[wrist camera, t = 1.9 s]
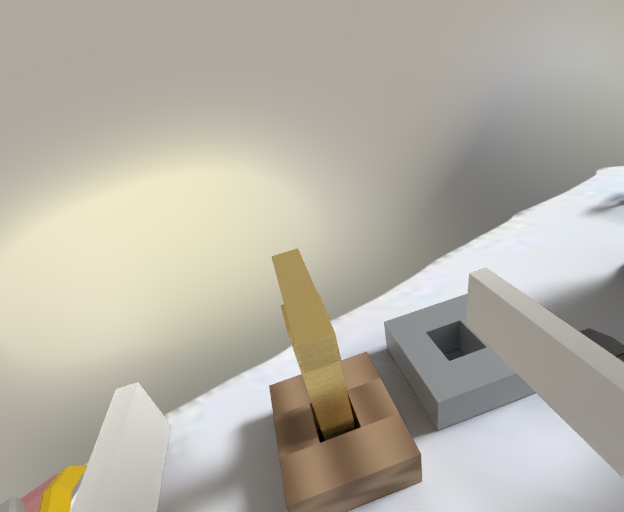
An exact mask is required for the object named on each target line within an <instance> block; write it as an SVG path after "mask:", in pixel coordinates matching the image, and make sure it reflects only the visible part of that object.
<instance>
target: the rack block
mask: <svg viewBox="0 0 624 512" xmlns="http://www.w3.org/2000/svg"><path fill="white" fill-rule="evenodd" d="M467 297H468V294H465V295H462V296H459V297H456V298H453V299H450V300H447V301H445V302H442V303H439V304H436V305H433V306H430V307H427V308H424V309H421V310H418V311H415V312H412V313H409V314H406V315H403V316H401V317H398V318H395V319H392V320H389V321H386V322H384V326H385V335H386V344H387V349H388V351H389V352H390V354H391V356H392V357H393V359H394V360H395V362H396V364H397V365H398V367H399V369H400V370H401V372H402V373H403V375H404V377H405V378H406V380H407V382H408V383H409V385H410V386H411V388H412V390H413V391H414V393H415V395H416V396H417V398H418V399H419V401H420V403H421V404H422V406H423V408H424V409H425V411H426V412H427V414H428V416H429V417H430V419H431V421H432V422H433V424H434V425H435V427H436V429H437V430H438V431H439V430H441V429H444V428H446V427H449V426H452V425H454V424H457V423H459V422H462V421H464V420H467V419H470V418H472V417H475V416H477V415H480V414H483V413H485V412H488V411H490V410H493V409H495V408H498V407H501V406H503V405H506V404H508V403H511V402H514V401H516V400H519V399H521V398H524V397H526V396H529V395H532V394H534V393H536V392H535V391H534V390H533V389H532V388H531V387H530V386H529V385H528V384H527V383H526V382H525V381H524V380H523V379H522V378H521V377H520V376H519V375H518V374H517V373H516V372H514V371H513V370H512V369H511V368H510V367H509V366H508V365H507V364H506V363H505V362H504V361H503V360H502V359H501V358H500V357H499V356H498V355H497V354H496V353H495V352H494V351H493V350H492V349H491V348H490V347H489V346H488V345H487V344H486V343H485V342H484V341H483V340H482V339H481V338H480V337H479V336H478V335H477V334H476V333H475V332H474V331H473V330H472V329H471V328H470V327H469V326H468V325H467V324H466V310H467ZM457 348H459V349H460V351H461V352H462V353H463V354H464V355H465V356H462V357H459V358H456V359H454V360H451V361H449V360H448V359H447V358H446V357H445V355H444V354H443V353H446V352H449V351H452V350H455V349H457Z"/></svg>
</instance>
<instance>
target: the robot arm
mask: <svg viewBox="0 0 624 512" xmlns="http://www.w3.org/2000/svg"><path fill="white" fill-rule="evenodd" d="M466 324H467V325H468V326H469V327H470V328H471V329H472V330H473V331H474V332H475V333H476V334H477V335H478V336H479V337H480V338H481V339H482V340H483V341H484V342H485V343H486V344H487V345H488V346H489V347H490V348H491V349H492V350H493V351H494V352H495V353H496V354H497V355H498V356H499V357H500V358H501V359H502V360H503V361H504V362H505V363H506V364H507V365H508V366H509V367H510V368H511V369H512V370H513V371H514V372H516V373H517V374H518V375H519V376H520V377H521V378H522V379H523V380H524V381H525V382H526V383H527V384H528V385H529V386H530V387H531V388H532V389H533V390H534V391H535V392H536V393H537V394H538V395H539V396H540V397H541V398H542V399H543V400H544V401H545V402H546V403H547V404H548V405H549V406H550V407H551V408H552V409H553V410H554V411H555V412H556V413H557V414H558V415H559V416H560V417H561V418H562V419H563V420H564V421H565V422H566V423H567V424H568V425H569V426H570V427H571V428H572V429H573V430H574V431H575V432H577V433H578V434H579V435H580V436H581V437H582V438H583V439H584V440H585V441H586V442H587V443H588V444H589V445H590V446H591V447H592V448H593V449H594V450H595V451H596V452H597V453H598V454H599V455H600V456H601V457H602V458H603V459H604V460H605V461H606V462H607V463H608V464H609V465H610V466H611V467H612V468H613V469H614V470H615V471H616V472H617V473H618V474H619V475H620V476H621V477H622V478H623V479H624V345H622V344H621V343H619V342H618V341H616V340H615V339H613V338H612V337H609V336H607V335H604V334H602V333H599V332H597V331H594V330H592V329H586V330H583V331H581V332H579V331H578V330H576V329H575V328H573V327H572V326H570V325H569V324H567V323H566V322H565V321H563V320H562V319H560V318H559V317H557V316H556V315H554V314H553V313H551V312H550V311H549V310H547V309H546V308H544V307H543V306H541V305H540V304H538V303H537V302H535V301H534V300H533V299H531V298H530V297H528V296H527V295H525V294H524V293H522V292H521V291H520V290H518V289H517V288H515V287H514V286H512V285H511V284H509V283H508V282H506V281H505V280H504V279H502V278H501V277H499V276H498V275H496V274H495V273H493V272H492V271H491V270H489V269H488V268H484V269H481V270H478V271H475V272H472V273H469V284H468V297H467V310H466ZM170 430H171V424H170V423H169V422H168V420H167V419H166V418H165V417H164V415H163V414H162V413H161V412H160V410H159V409H158V408H157V406H156V405H155V404H154V402H153V401H152V400H151V399H150V397H149V396H148V395H147V393H146V392H145V391H144V389H143V388H142V387H141V386H140V384H139V383H138V382H137V383H134V384H131V385H128V386H125V387H122V388H118V389H116V391H115V393H114V396H113V399H112V401H111V404H110V406H109V409H108V412H107V414H106V417H105V420H104V423H103V425H102V428H101V431H100V433H99V436H98V439H97V441H96V444H95V447H94V449H93V453H92V455H91V457H90V460H89V463H88V466H87V468H86V471H85V474H84V476H83V479H82V482H81V484H80V487H79V490H78V492H77V495H76V498H75V500H74V503H73V506H72V509H71V511H70V512H157V508H158V502H159V496H160V490H161V484H162V478H163V472H164V466H165V460H166V454H167V448H168V442H169V436H170Z"/></svg>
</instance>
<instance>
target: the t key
mask: <svg viewBox="0 0 624 512" xmlns="http://www.w3.org/2000/svg"><path fill="white" fill-rule="evenodd" d="M272 260H273V263H274V267H275V271H276V275H277V279H278V282H279V286H280V290H281V294H282V297H283V301H284V304H283V305H281V308H282V312H283V316H284V320H285V323H286V328H287V332H288V335H289V338H290V341H291V344H292V347H293V350H294V353H295V355H296V358H297V361H298V364H299V367H300V370H301V373H302V376H303V379H304V382H305V385H306V387H307V390H308V393H309V396H310V399H311V402H312V405H313V408H314V411H315V414H316V417H317V419H318V422H319V425H320V428H321V431H322V434H323V437H324V440H325V441H326V440H329V439H332V438H334V437H337V436H340V435H342V434H345V433H348V432H350V431H353V430H356V428H355V424H354V419H353V415H352V411H351V407H350V403H349V398H348V394H347V390H346V386H345V381H344V377H343V373H342V369H341V365H340V361H341V357H340V353H339V348H338V344H337V340H336V335H335V332H334V330H333V327H332V325H331V322H330V318H329V316H328V314H327V312H326V309H325V307H324V305H323V302H322V300H321V298H320V296H319V294H318V293H317V291H316V289H315V287H314V284H313V282H312V280H311V278H310V275H309V273H308V271H307V268H306V266H305V264H304V262H303V260H302V257H301V255H300V253H299V250H298V249H295V250H292V251H288V252H285V253H281V254H278V255H275V256H272Z"/></svg>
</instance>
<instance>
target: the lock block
mask: <svg viewBox="0 0 624 512" xmlns="http://www.w3.org/2000/svg"><path fill="white" fill-rule="evenodd" d="M340 365H341V369H342V373H343V377H344V381H345V386H346V390H347V394H348V398H349V403H350V407H351V411H352V415H353V418H354V421H355V423H356V426H357V428H358V429H356V430H353V431H350V432H348V433H345V434H342V435H340V436H337V437H334V438H332V439H329V440H326V441H324V442H322V441H321V437H320V434H319V429H321V428H320V425H319V422H318V419H317V417H316V414H315V411H314V408H313V405H312V402H311V399H310V396H309V393H308V390H307V387H306V385H305V382H304V379H303V376H302V374H301V375H298V376H296V377H293V378H290V379H287V380H284V381H281V382H278V383H276V384H273V385H270V386H269V387H270V394H271V401H272V408H273V415H274V422H275V430H276V437H277V444H278V451H279V458H280V465H281V472H282V479H283V486H284V493H285V500H286V507H287V509H288V511H289V512H347V511H349V510H352V509H354V508H357V507H359V506H362V505H364V504H367V503H369V502H372V501H374V500H376V499H379V498H381V497H384V496H386V495H389V494H391V493H394V492H396V491H399V490H401V489H404V488H406V487H409V486H411V485H414V484H416V483H419V482H421V481H422V467H421V453H420V451H419V450H418V448H417V446H416V444H415V442H414V440H413V438H412V436H411V434H410V433H409V431H408V429H407V427H406V425H405V423H404V421H403V419H402V418H401V416H400V414H399V412H398V410H397V408H396V406H395V404H394V402H393V401H392V399H391V397H390V395H389V393H388V391H387V389H386V387H385V385H384V384H383V382H382V380H381V378H380V376H379V374H378V372H377V370H376V368H375V367H374V365H373V363H372V361H371V359H370V357H369V355H368V353H367V352H364V353H361V354H359V355H356V356H353V357H350V358H347V359H344V360H341V361H340Z"/></svg>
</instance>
